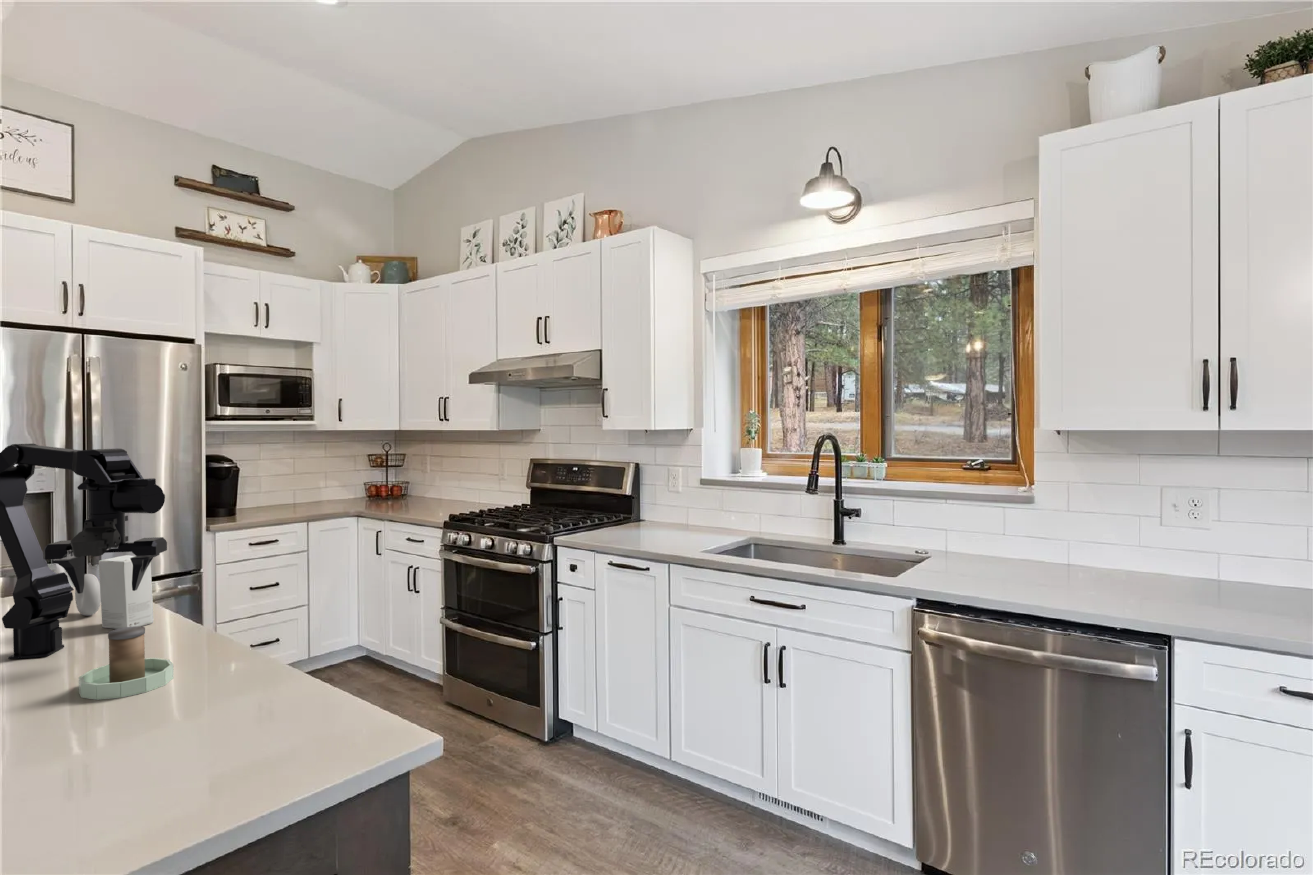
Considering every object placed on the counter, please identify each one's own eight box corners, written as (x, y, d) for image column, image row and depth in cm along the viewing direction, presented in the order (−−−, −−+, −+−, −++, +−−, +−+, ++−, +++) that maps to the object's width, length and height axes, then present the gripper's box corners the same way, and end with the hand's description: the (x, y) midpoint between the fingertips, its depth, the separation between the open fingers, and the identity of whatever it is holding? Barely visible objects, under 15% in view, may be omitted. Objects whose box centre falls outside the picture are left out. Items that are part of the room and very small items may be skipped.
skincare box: (154, 623, 161) (153, 556, 161) (124, 631, 155) (123, 561, 155) (128, 620, 164) (128, 553, 164) (98, 627, 158) (97, 559, 157)
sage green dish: (63, 702, 116) (62, 687, 116) (103, 675, 128) (103, 661, 128) (153, 695, 119) (153, 680, 119) (184, 669, 132) (184, 655, 132)
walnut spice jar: (100, 686, 122) (100, 634, 121) (127, 675, 127) (126, 625, 126) (127, 687, 121) (126, 635, 121) (153, 676, 126) (152, 627, 126)
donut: (103, 617, 166) (103, 575, 166) (85, 620, 164) (84, 578, 163) (91, 610, 172) (90, 570, 172) (73, 613, 170) (72, 572, 169)
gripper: (24, 519, 127) (25, 605, 128) (142, 516, 132) (143, 598, 132) (59, 512, 138) (60, 590, 138) (167, 509, 143) (168, 585, 143)
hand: (107, 591), depth 138 cm, fingers open, 9 cm apart
